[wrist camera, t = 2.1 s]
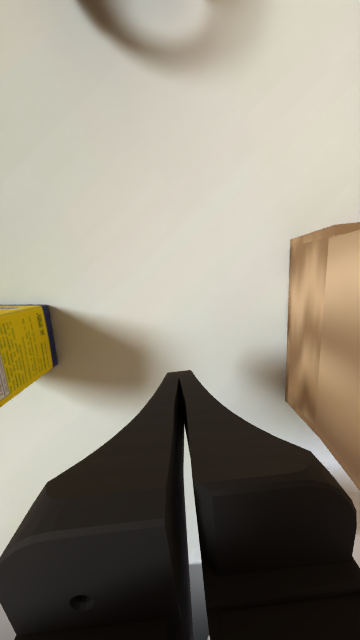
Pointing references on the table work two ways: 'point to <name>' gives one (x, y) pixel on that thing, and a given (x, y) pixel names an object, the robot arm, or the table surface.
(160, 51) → the table surface
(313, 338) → the carton
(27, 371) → the supplement box
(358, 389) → the flap
